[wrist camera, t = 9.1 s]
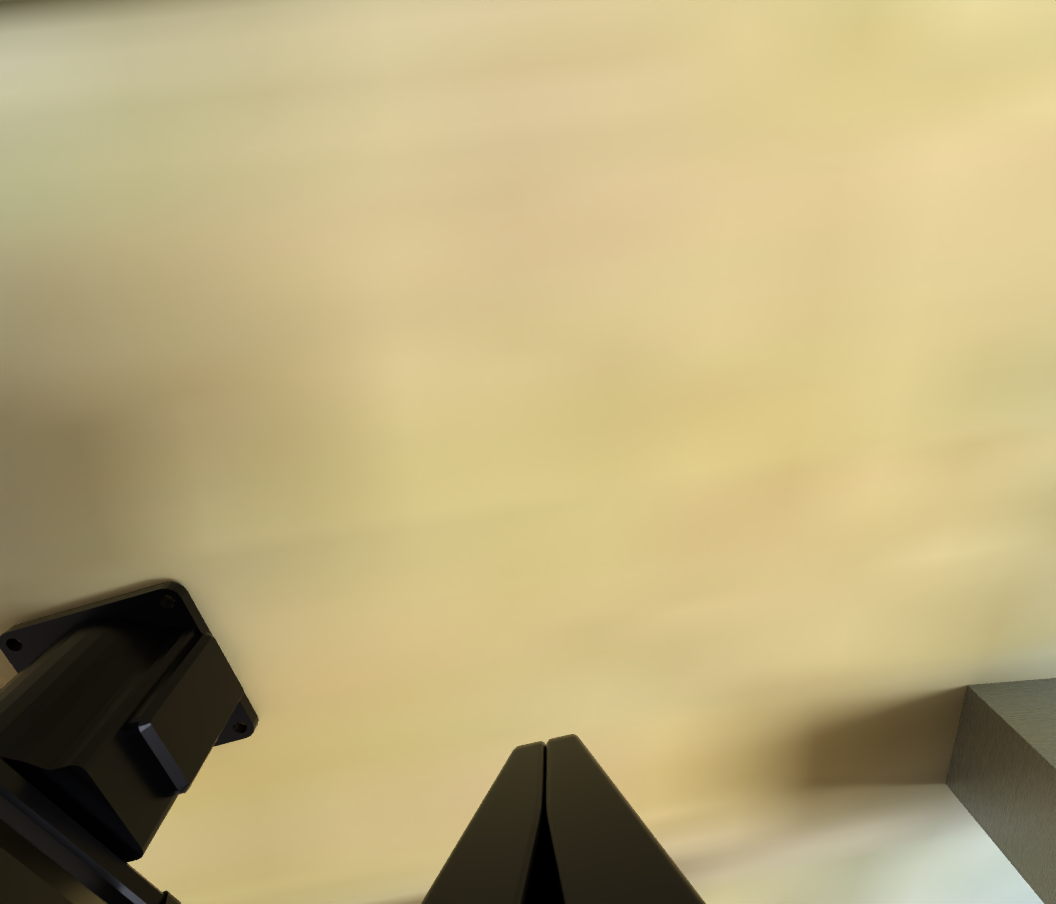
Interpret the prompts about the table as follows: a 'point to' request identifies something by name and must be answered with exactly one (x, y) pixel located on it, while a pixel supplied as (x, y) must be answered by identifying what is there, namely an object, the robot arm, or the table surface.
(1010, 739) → the silver rectangular block
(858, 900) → the table surface
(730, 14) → the table surface
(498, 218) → the table surface
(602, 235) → the table surface
